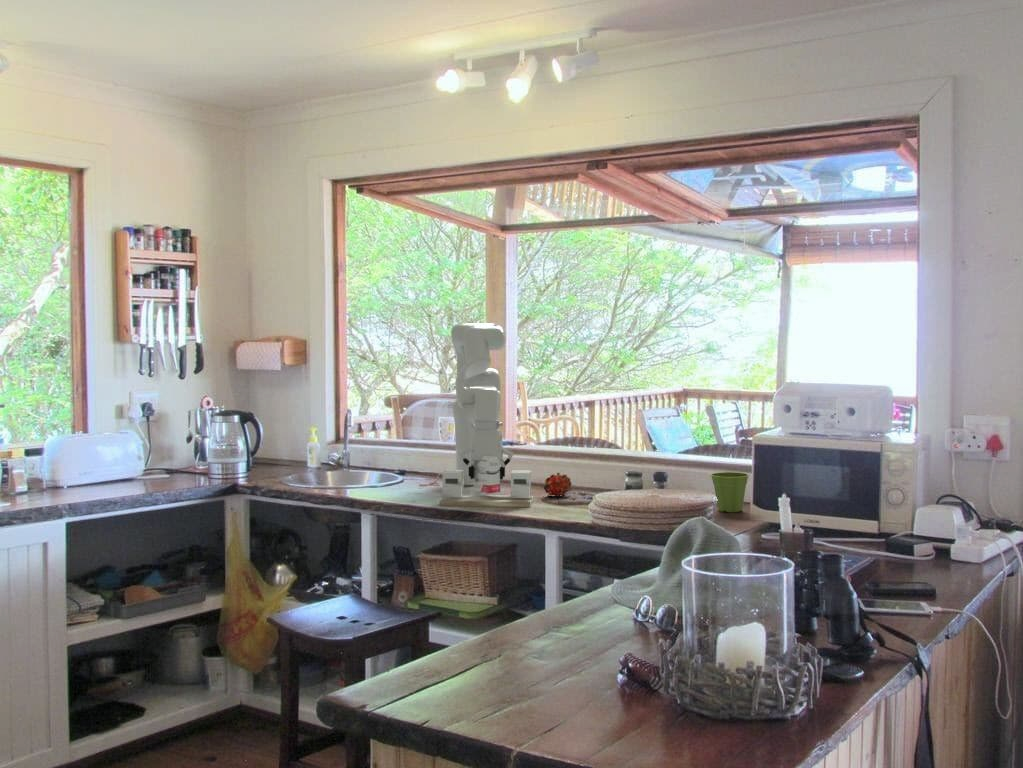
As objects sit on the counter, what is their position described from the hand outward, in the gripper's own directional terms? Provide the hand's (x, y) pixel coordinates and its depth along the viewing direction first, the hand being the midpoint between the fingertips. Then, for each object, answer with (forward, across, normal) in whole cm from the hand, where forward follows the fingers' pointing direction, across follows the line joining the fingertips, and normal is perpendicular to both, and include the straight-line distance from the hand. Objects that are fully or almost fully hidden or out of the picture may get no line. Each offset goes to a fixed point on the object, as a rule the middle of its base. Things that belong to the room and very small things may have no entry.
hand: (486, 478), depth 311 cm
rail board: (+8, 0, 0) cm, 8 cm away
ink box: (+4, 0, 0) cm, 4 cm away
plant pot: (+8, -76, +9) cm, 77 cm away
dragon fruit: (+8, -22, -15) cm, 28 cm away
